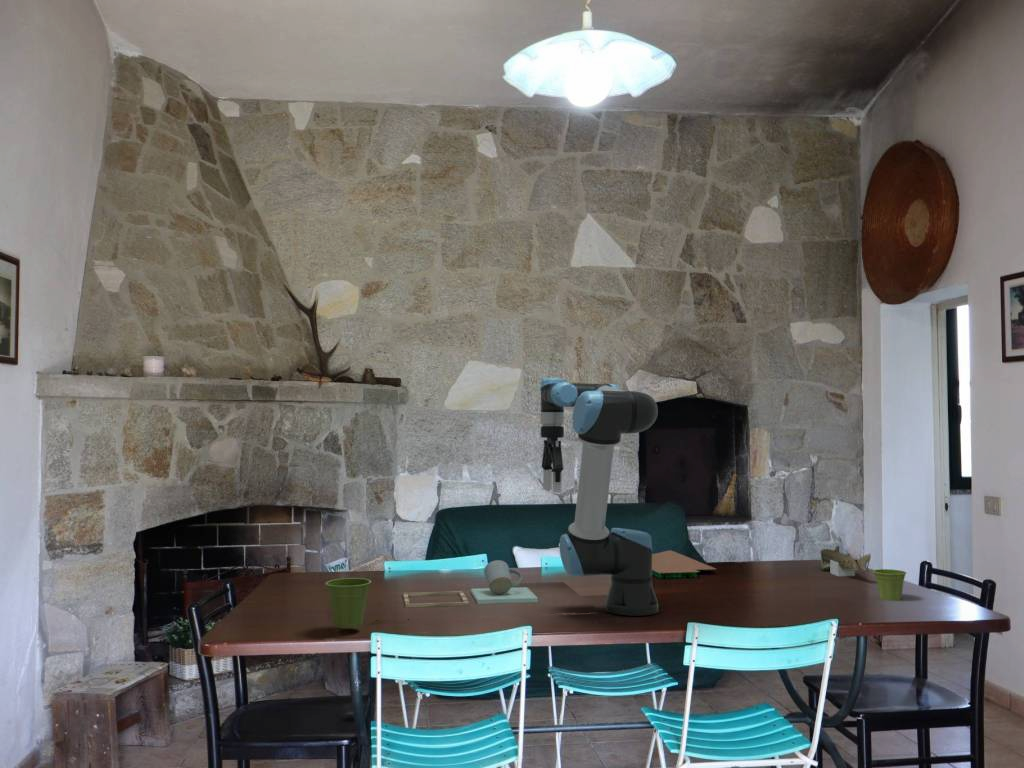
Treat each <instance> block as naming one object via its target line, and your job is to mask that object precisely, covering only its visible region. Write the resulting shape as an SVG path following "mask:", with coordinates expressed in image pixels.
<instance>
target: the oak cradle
mask: <svg viewBox="0 0 1024 768" xmlns="http://www.w3.org/2000/svg"><path fill="white" fill-rule="evenodd" d="M402 594H403V600H404V606H405V607H404V608H425V607H428V608H431V607H432V608H433V607H460V606H461V607H465V606H466V607H467V606H470V601H469V600H468V598H467V596H466V595H465V593H464V591H461V590H460V591H459V590H458V591H456V590H455V591H425V592H424V591H422V592H417V591H416V592H413V591H412V592H403V593H402ZM456 595H457V596H459V597H460V599H461V602H460V601H459V602H458V601H456V602H423V603H422V602H420V603H417V602H416V603H413V602H412V603H410V599H409V597H415V596H417V597H418V596H420V597H423V596H425V597H426V596H456Z"/></svg>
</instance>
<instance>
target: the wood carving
mask: <svg viewBox="0 0 1024 768" xmlns="http://www.w3.org/2000/svg"><path fill="white" fill-rule="evenodd" d="M840 547H841V546H840V545H836V546H835V549H828V548H827V549H826V548H824V549H821V550H820V555H821V556H820V558H821V559H820V560H821V561H820V562H821V566H820V569H822V570H823V569H825V568H829V570H830V573H829V574H832V575H834V576H837V577H855V576H856V572H858V573H862V574H864V575H865V574H866V575H867V574H869V564H870V562H871V561H870V560H871V557H872V555H871V553H868V554H864V555H863V556H861V557H860V558H859V559H856V558H854V557H852V556H851V553H847V554H845V553H841V552H840Z"/></svg>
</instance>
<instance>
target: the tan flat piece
mask: <svg viewBox="0 0 1024 768" xmlns="http://www.w3.org/2000/svg"><path fill="white" fill-rule="evenodd" d="M708 570H717V568H715V567H712V566H710V565H708V564H706V563H703V562H700V561H699V560H696V559H693V558H691V557H689V556H686V555H684V554H682V553H679V552H676V551H674V550H671V549H670V550H669V549H668V550H664V551H661V552H656V553H652V572H653V576H654V577H656V578H659V579H660V580H661V579H662V577H663V574H666V578H667V579H668V578H678V579H679V578H680V579H681V578H682V577H683V579H684V578H685V576H684V575H685V574H688V573H689V575H690V576H691V577H692V578H693V577H694V578H697V577H698V576H697V573H700V572H702V571H705V572H707V571H708ZM674 574H675V575H674Z"/></svg>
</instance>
